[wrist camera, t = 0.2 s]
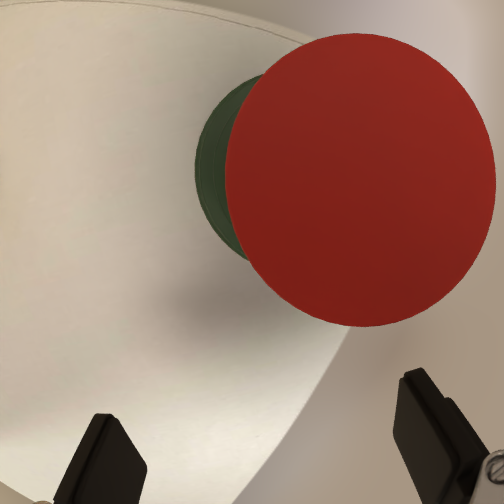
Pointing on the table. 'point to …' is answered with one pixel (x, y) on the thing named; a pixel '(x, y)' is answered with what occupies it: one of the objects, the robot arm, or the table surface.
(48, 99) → the table surface
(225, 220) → the bottle
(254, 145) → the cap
